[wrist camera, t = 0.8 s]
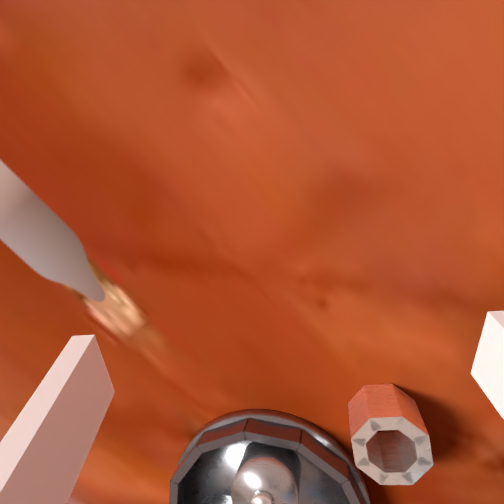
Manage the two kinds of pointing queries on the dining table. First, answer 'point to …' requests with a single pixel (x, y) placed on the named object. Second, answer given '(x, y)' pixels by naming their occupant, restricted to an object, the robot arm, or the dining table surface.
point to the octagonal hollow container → (388, 435)
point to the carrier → (265, 463)
